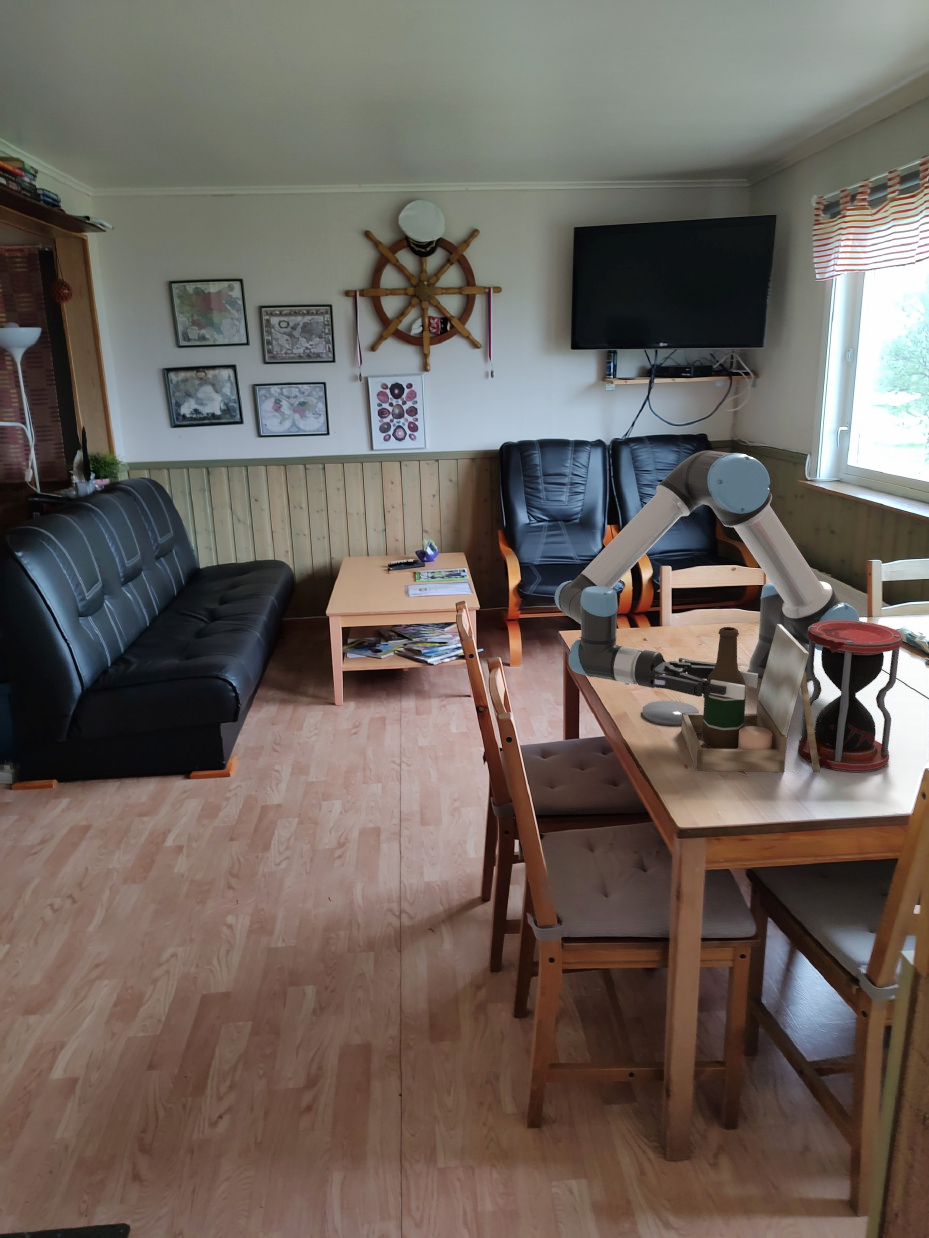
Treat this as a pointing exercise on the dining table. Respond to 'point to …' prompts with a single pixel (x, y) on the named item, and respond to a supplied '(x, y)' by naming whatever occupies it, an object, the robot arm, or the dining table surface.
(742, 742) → the tan rounded block
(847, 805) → the dining table surface
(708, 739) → the beer bottle
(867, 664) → the hourglass
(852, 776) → the dining table surface
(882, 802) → the dining table surface
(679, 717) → the coaster
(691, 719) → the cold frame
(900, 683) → the dining table surface
